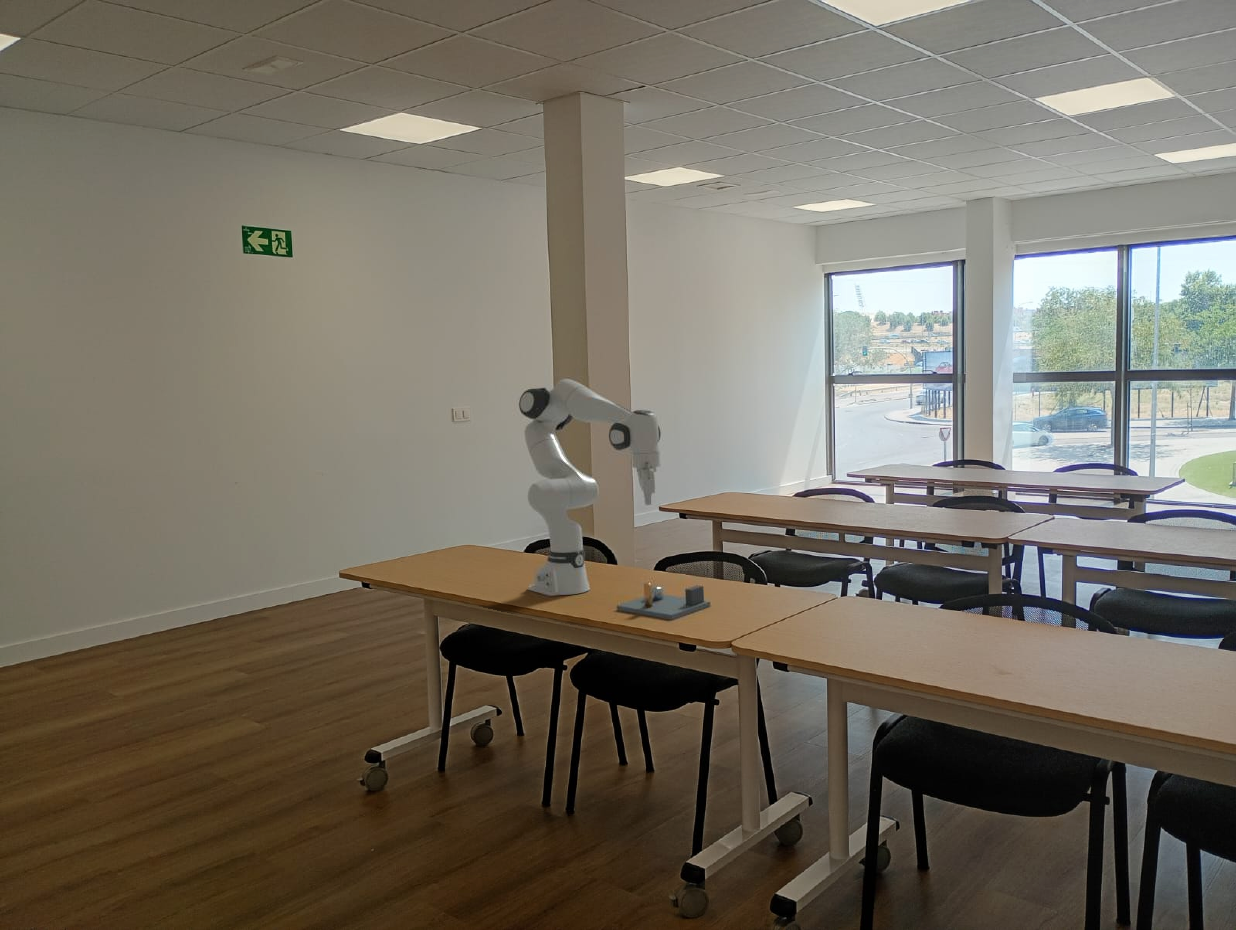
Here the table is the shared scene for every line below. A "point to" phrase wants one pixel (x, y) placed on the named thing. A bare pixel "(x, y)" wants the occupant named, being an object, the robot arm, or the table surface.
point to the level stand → (669, 605)
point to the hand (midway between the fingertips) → (648, 504)
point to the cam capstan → (652, 593)
